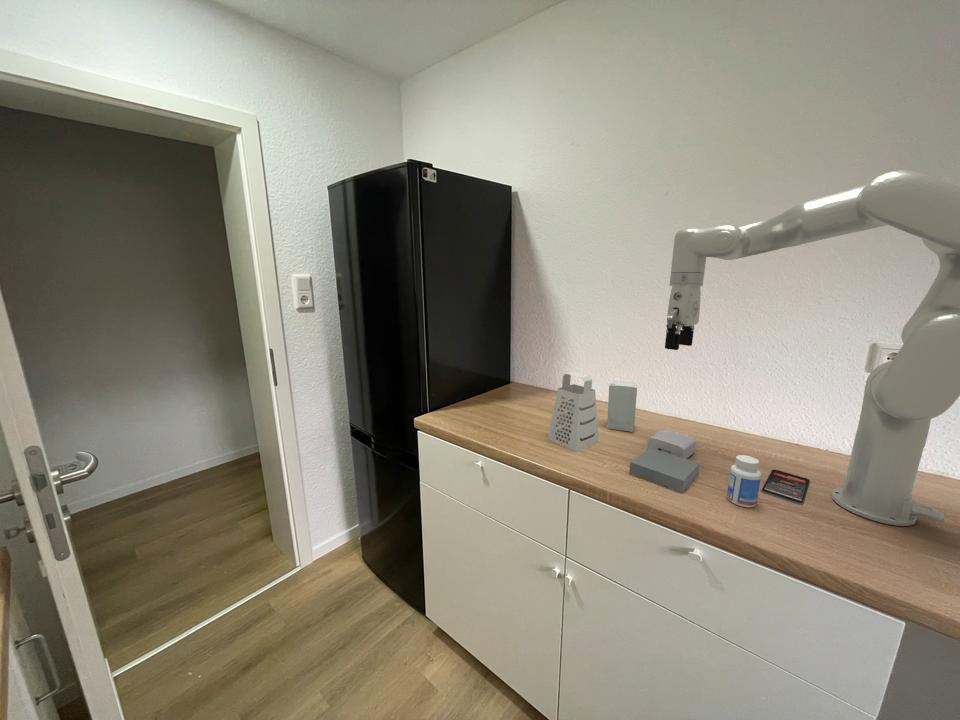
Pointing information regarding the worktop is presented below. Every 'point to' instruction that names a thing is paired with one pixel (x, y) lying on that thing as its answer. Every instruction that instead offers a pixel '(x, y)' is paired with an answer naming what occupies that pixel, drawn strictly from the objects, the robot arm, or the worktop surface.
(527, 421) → the worktop surface
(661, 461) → the grey pad
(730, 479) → the pill bottle
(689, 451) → the charger
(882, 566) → the worktop surface
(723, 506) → the worktop surface
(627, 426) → the skincare box
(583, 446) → the grater
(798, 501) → the smartphone
